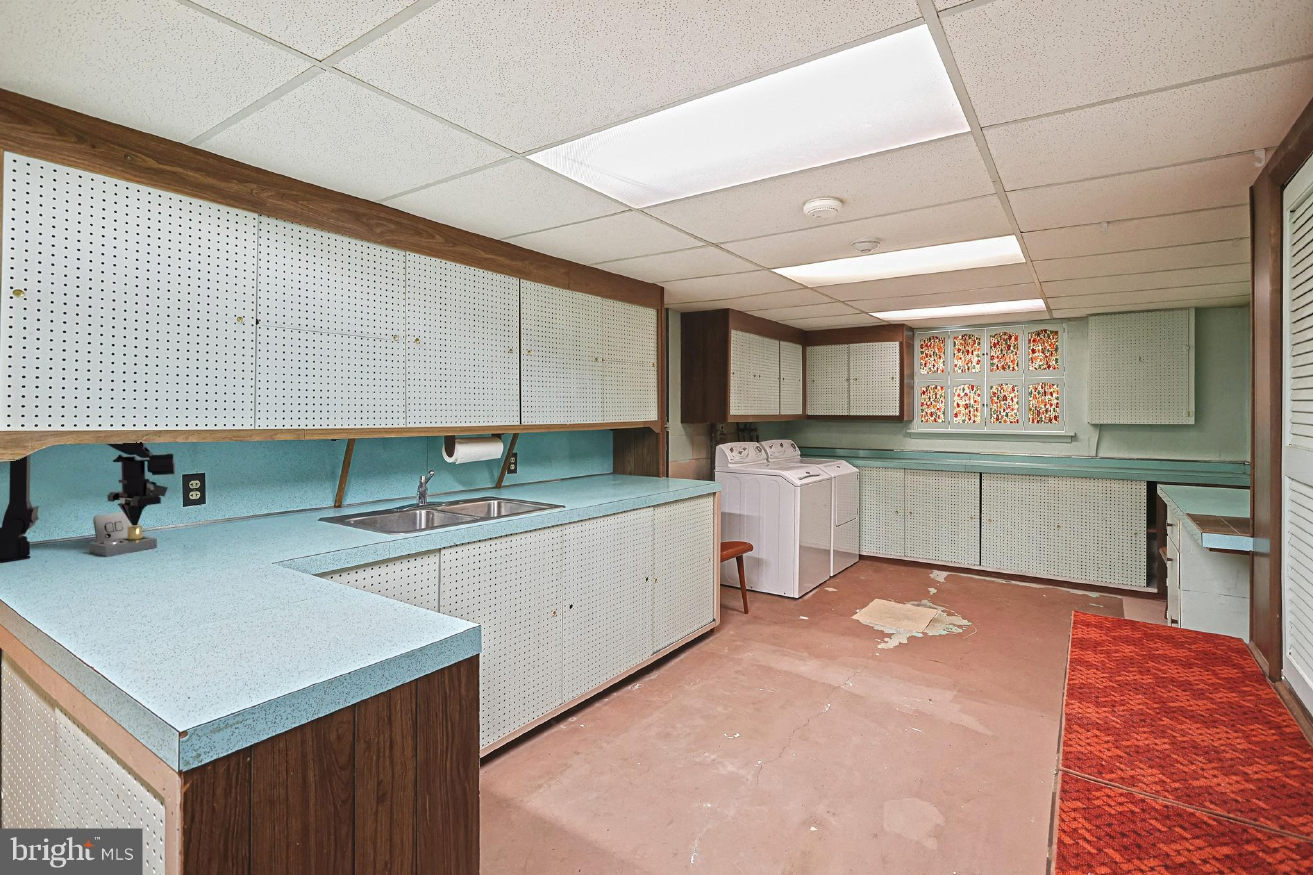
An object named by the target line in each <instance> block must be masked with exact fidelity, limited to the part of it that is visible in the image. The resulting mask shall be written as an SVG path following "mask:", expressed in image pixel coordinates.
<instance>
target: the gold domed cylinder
mask: <svg viewBox="0 0 1313 875" xmlns="http://www.w3.org/2000/svg"><path fill="white" fill-rule="evenodd" d="M142 536H143V525H141V524H138V525H135V526H133V525H131V526H129V527H127V537H128V541H135V540H141V539H143V538H142Z"/></svg>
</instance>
